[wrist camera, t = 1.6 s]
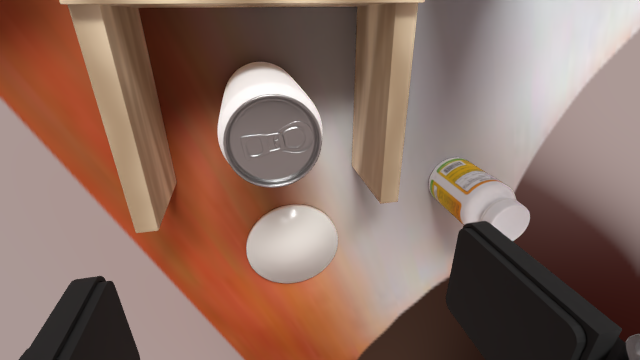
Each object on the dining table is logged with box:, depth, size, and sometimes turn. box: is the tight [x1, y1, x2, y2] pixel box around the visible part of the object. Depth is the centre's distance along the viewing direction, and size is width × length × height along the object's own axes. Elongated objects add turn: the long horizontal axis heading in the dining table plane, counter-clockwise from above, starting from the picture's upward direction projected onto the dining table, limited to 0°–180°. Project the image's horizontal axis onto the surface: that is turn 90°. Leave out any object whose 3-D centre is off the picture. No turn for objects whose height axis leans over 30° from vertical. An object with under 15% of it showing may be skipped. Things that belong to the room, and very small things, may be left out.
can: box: [218, 62, 323, 188], centre depth 25 cm, size 6×6×12 cm
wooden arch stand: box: [59, 0, 424, 233], centre depth 26 cm, size 20×16×9 cm
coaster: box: [246, 204, 338, 283], centre depth 37 cm, size 10×10×1 cm
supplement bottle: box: [429, 157, 530, 241], centre depth 34 cm, size 5×5×10 cm
